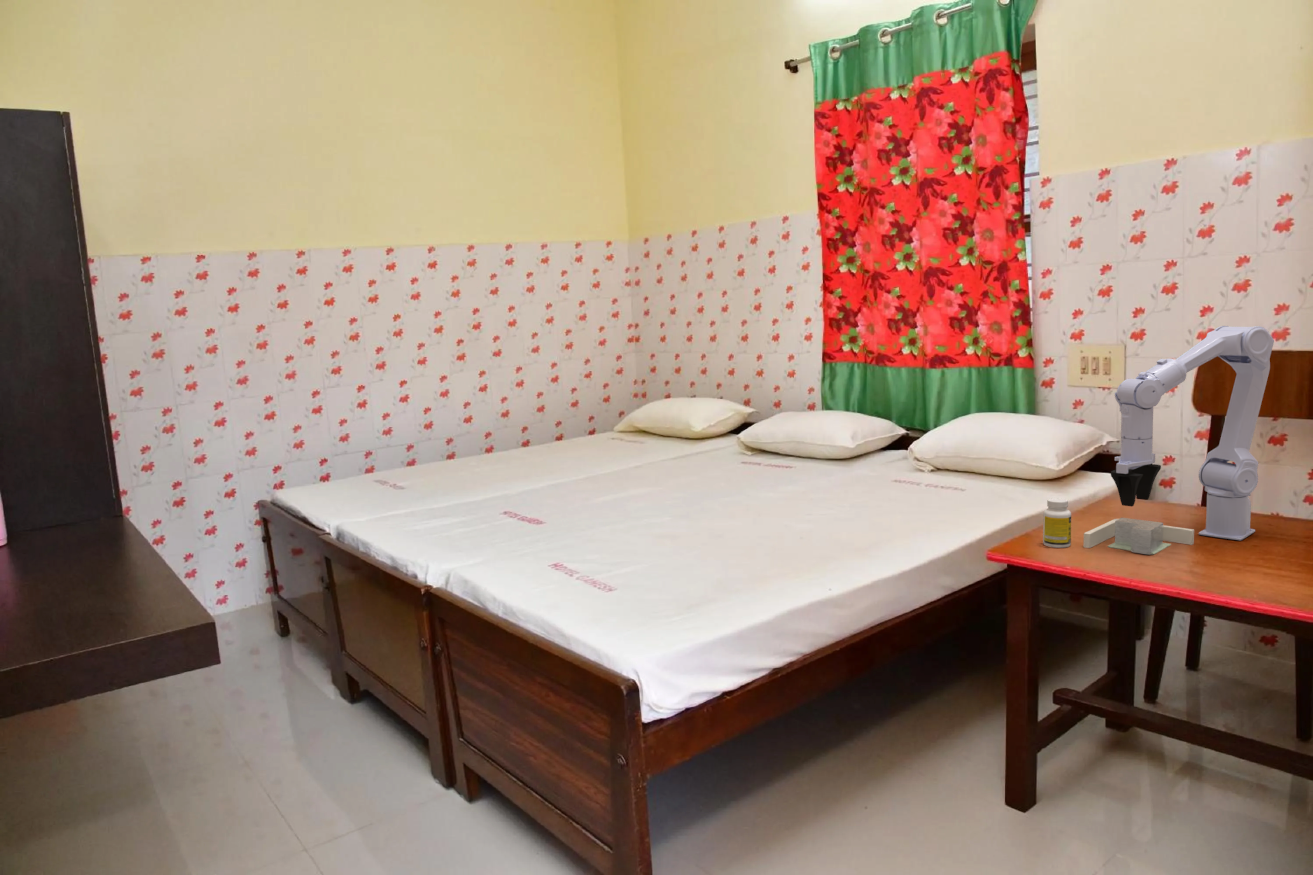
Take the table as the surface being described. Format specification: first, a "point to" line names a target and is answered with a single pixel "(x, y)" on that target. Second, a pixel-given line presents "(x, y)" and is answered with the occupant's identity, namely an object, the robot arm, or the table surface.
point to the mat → (1130, 547)
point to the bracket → (1139, 535)
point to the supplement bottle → (1057, 524)
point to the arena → (1108, 531)
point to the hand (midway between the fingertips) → (1135, 502)
